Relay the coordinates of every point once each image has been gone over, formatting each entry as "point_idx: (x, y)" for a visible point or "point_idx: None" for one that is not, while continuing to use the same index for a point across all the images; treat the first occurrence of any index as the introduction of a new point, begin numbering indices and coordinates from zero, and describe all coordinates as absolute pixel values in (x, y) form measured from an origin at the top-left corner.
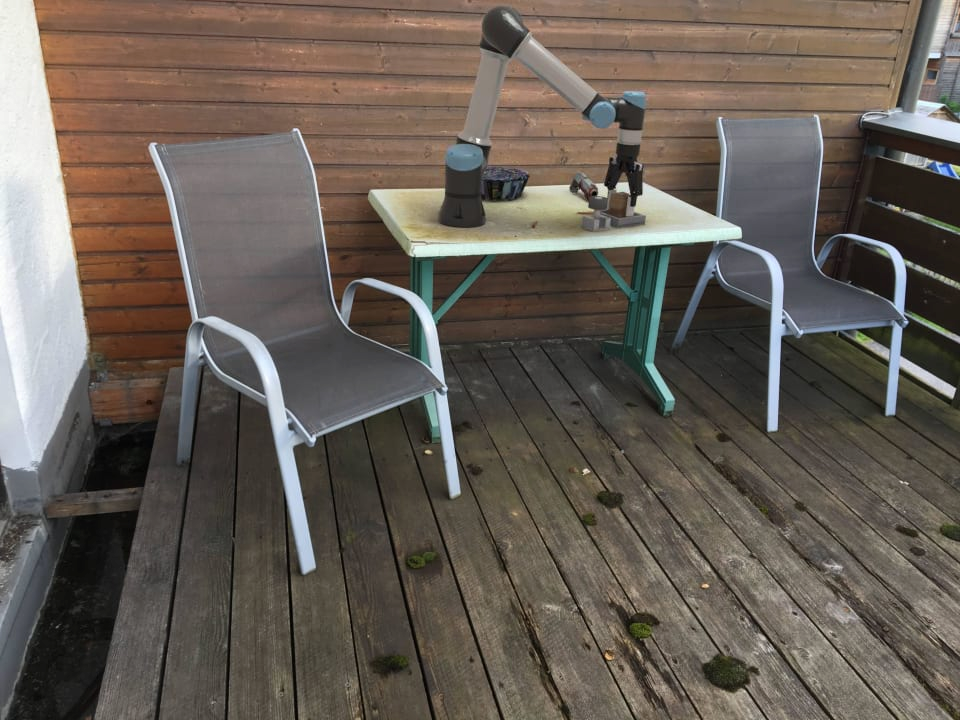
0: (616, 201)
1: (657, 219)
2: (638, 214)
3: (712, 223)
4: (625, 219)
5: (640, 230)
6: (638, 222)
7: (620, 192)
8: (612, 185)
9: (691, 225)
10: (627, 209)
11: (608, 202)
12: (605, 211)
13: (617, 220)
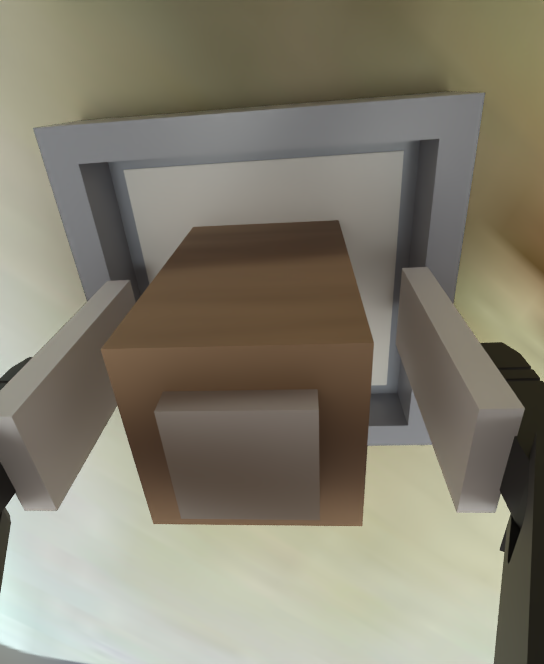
0: (235, 301)
1: (242, 525)
2: None
3: (106, 645)
4: (69, 227)
5: (5, 275)
6: None
7: (290, 465)
8: (525, 520)
9: (87, 575)
10: (84, 312)
11: (435, 303)
12: (424, 244)
13: (63, 125)
